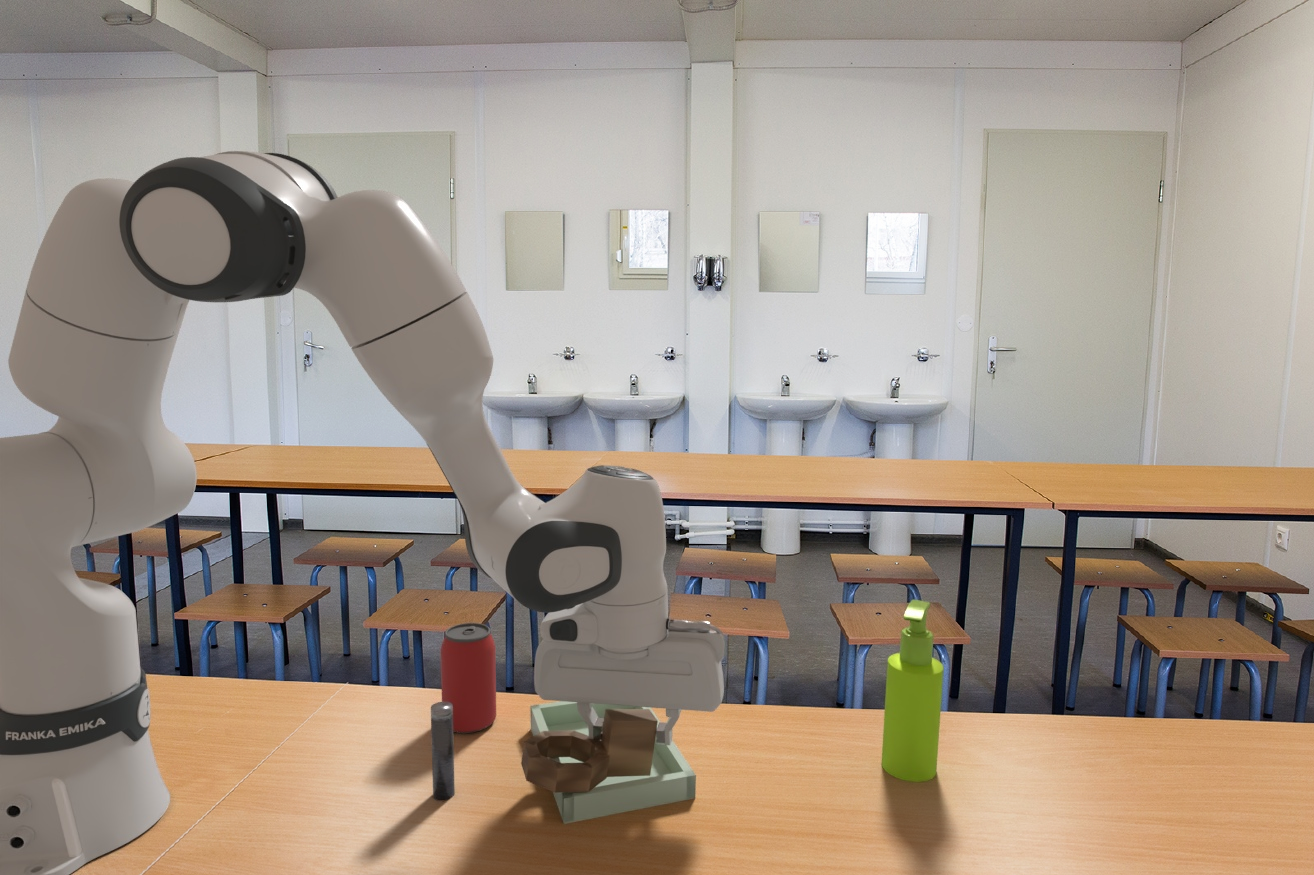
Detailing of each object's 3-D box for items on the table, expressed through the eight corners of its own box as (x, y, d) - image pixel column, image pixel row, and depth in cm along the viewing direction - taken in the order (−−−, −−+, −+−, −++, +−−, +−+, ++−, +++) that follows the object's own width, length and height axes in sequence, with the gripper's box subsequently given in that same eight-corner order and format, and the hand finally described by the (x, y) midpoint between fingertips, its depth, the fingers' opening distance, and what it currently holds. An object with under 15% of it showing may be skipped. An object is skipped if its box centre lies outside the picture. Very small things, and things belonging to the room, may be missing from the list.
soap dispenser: (874, 783, 86) (884, 609, 83) (887, 753, 92) (896, 590, 89) (929, 799, 83) (942, 619, 80) (939, 767, 89) (951, 599, 86)
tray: (563, 827, 77) (563, 798, 77) (530, 729, 96) (530, 705, 96) (695, 802, 82) (695, 775, 81) (638, 713, 101) (639, 690, 100)
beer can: (502, 711, 101) (501, 622, 99) (486, 737, 94) (485, 642, 92) (453, 708, 101) (451, 619, 100) (434, 734, 95) (431, 639, 93)
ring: (517, 752, 84) (524, 698, 84) (634, 750, 88) (641, 699, 88) (530, 793, 76) (537, 734, 76) (658, 788, 80) (666, 732, 80)
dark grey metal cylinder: (433, 803, 81) (431, 713, 80) (432, 791, 83) (430, 703, 82) (455, 799, 82) (453, 710, 80) (453, 788, 84) (451, 700, 82)
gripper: (728, 610, 83) (729, 731, 85) (545, 602, 87) (551, 718, 89) (721, 634, 77) (723, 764, 79) (525, 624, 81) (532, 748, 83)
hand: (630, 739), depth 84 cm, fingers closed on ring, 6 cm apart
